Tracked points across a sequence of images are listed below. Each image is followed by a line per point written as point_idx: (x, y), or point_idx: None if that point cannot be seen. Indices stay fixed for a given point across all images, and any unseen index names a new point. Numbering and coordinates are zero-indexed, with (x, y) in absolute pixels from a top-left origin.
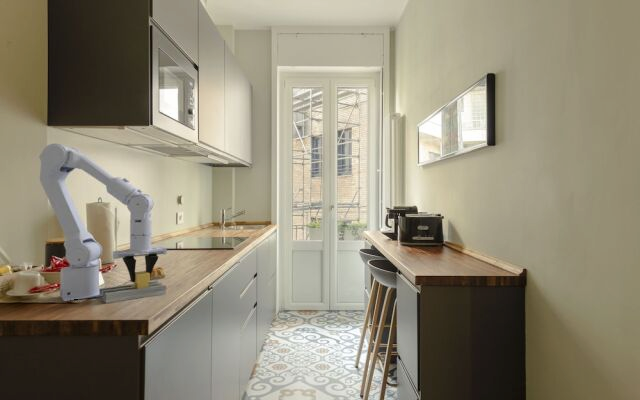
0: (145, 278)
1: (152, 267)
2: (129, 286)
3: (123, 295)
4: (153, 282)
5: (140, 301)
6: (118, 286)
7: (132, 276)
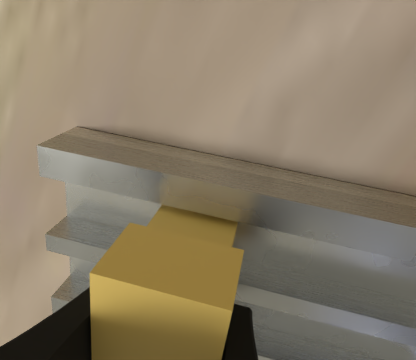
0: (157, 254)
1: (13, 348)
2: None
3: (372, 203)
4: None
5: (298, 63)
6: None
7: (254, 348)
